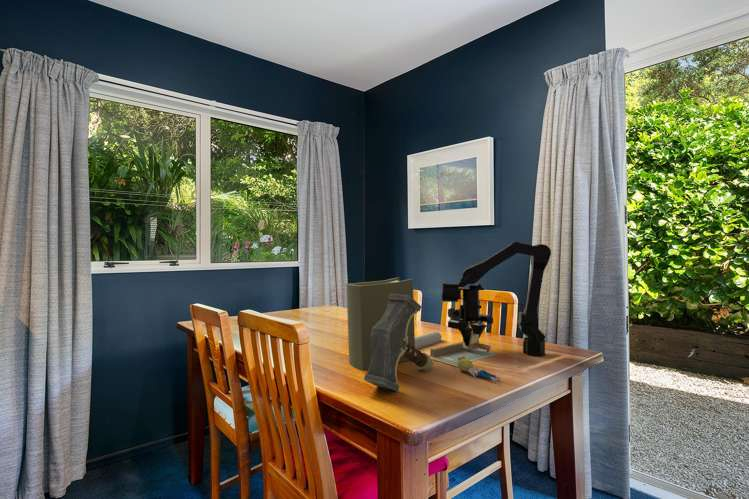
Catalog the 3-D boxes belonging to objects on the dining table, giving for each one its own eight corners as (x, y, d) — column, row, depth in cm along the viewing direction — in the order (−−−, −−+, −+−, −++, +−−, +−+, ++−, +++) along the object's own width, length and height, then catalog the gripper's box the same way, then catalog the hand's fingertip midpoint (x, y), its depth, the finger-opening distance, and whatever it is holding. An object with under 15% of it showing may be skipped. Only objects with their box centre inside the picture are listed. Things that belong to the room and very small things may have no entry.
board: (499, 356, 147) (499, 346, 147) (457, 367, 134) (457, 357, 134) (468, 348, 158) (468, 339, 158) (426, 358, 145) (426, 349, 145)
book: (360, 372, 132) (357, 284, 131) (347, 365, 140) (344, 282, 139) (415, 360, 143) (412, 279, 142) (400, 354, 151) (397, 277, 150)
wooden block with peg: (492, 351, 146) (492, 337, 146) (485, 353, 143) (485, 338, 143) (470, 346, 154) (470, 332, 154) (463, 347, 151) (462, 334, 151)
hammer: (428, 339, 140) (389, 285, 122) (451, 344, 134) (414, 289, 116) (394, 414, 127) (346, 366, 109) (419, 423, 122) (372, 374, 103)
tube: (431, 331, 172) (393, 341, 153) (442, 328, 169) (404, 339, 150) (435, 344, 171) (397, 356, 152) (445, 341, 167) (408, 354, 149)
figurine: (503, 384, 121) (465, 368, 134) (504, 369, 121) (466, 355, 133) (490, 388, 118) (452, 371, 130) (491, 373, 118) (453, 358, 130)
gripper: (470, 297, 163) (470, 337, 163) (436, 302, 151) (436, 345, 152) (494, 300, 154) (494, 342, 154) (459, 305, 142) (460, 351, 143)
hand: (471, 345), depth 151 cm, fingers closed on wooden block with peg, 4 cm apart
